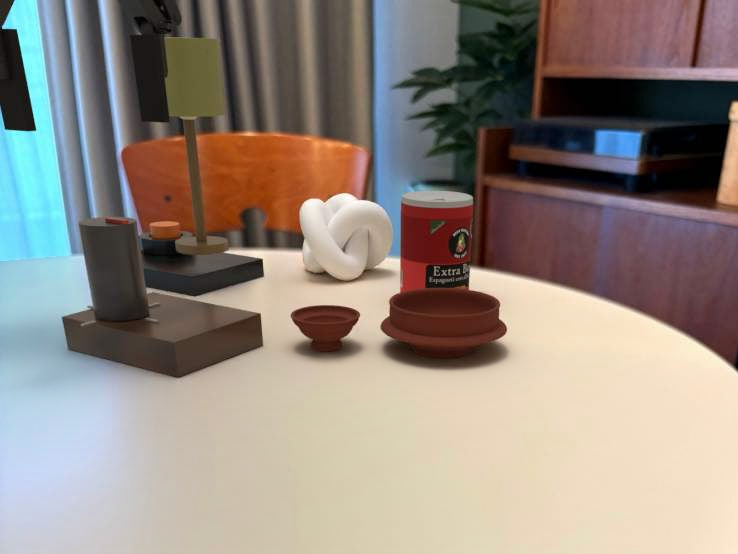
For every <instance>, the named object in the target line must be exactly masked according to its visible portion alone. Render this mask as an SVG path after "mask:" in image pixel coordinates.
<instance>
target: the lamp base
mask: <svg viewBox="0 0 738 554" xmlns="http://www.w3.org/2000/svg"><path fill="white" fill-rule="evenodd" d="M180 231H181V237H176V238H152V237H151V231H148V232H143V233H141V234H138V235H139V242H140V249H141V256H142V263H143V270H144V277H145V284H146V288H149V289H153V290H160V291H164V292H170V293H174V294H178V295H179V294H180V295H184V296H188V297H189V296H190V297H198V296H202V295H205V294H209V293H212V292H215V291H220V290H222V289H223V290H224V289H226V288H229V287H233V286H236V285H241V284H244V283H247V282H251V281H253V280H257V279H262V278H264V277H265V269H264V259H263V258H261V257H254V256H248V255H243V254H235V253H228V252H222V253H218V254H210V255H189V254H182V253H179V252H177V251H176V246H175V241H176V240H178V239H181V238H185V237H193V236H194V235H195V234H193V233H192V232H190V231H184V230H180Z"/></svg>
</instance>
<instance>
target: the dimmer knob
mask: <svg viewBox="0 0 738 554" xmlns="http://www.w3.org/2000/svg"><path fill="white" fill-rule="evenodd" d="M77 224H78V230H79V236H80V243H81V246H82V247H81V248H82V251H83V252H82V253H83V259H84V264H85V265H84V266H85V270H86V276H87V281H88V286H89V293H90V299H91V304H92V306H93V310H94V315H95V317H96V318H97V319H100V320H104V321H129V320H135V319H139V318H143V317H145V316H147V315H148V314H149V313H150V312H149V305H148V298H147V294H148V292H147V287H146V284H145V277H144V270H143V263H142V256H141V249H140V242H139V235H140V234H139V228H138V221H137V219H135V218H133V217H125V216H99V217H91V218H85V219H81V220H79V221H78V223H77Z"/></svg>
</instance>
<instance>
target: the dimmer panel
mask: <svg viewBox="0 0 738 554" xmlns="http://www.w3.org/2000/svg"><path fill="white" fill-rule="evenodd" d="M147 298H148V305H149V312H150V313H149V314H148V315H147V316H145V317H143V318H139V319H135V320H129V321H104V320H100V319H97V318H96V317H95V315H94V310H93V305H90V304H89V305H87V307H86V309H85V310H81V311H78V312H74V313H70V314H67V315H63V316H61V321H62V325H63V330H64V336H65V342H66V346H67V349H68V350H71V351H75V352H78V353H82V354H85V355H90V356H93V357H97V358H102V359H105V360H108V361H109V360H110V361H113V362H116V363H120V364H125V365H127V366H128V365H129V366H133V367H137V368H141V369H145V370H148V371H152V372H155V373H160V374H165V375H167V376H171V377H176V378H180V377H183V376H186V375H188V374H191V373H193V372H197V371H198V370H201V369H203V368H206V367H210V366H212V365H215V364H217V363H219V362H222V361H224V360H228V359H231V358H233V357H236V356H239V355H241V354H244V353H246V352H249V351H251V350H253V349H257V348H259V347H262V346H264V337H263V323H262V313H261V312H256V311H250V310H246V309H241V308H236V307H229V306H225V305H220V304H215V303H210V302H205V301H200V300H195V299H188V298H186V297H185V298H184V297H181V296H180V297H179V296H174V295H170V294H164V293H160V292H154V291H153V292H149V293H148V292H147Z"/></svg>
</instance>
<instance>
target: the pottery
mask: <svg viewBox="0 0 738 554" xmlns="http://www.w3.org/2000/svg"><path fill="white" fill-rule="evenodd" d="M388 304H389V312H388V313H389V316H387V317H386V318H384V319H383V320H382V321H381V323H380V330H381V331H382V333H383V334H385V336H388V337H390V338H391V339H394V340H396V341H400V342H404V343H407V344H409V345H410V348H411V349H412V350H413V352H415V353H416V354H419V355H421V356H424V357H430V358H438V359H439V358H441V359H451V358H460V357H464V356H468V355H470V354H472V353H473V352H474V351H475V349H476V347H477V346H479V345H484V344H489V343H492V342H494V341H498V340H499V339H501V338H503V337H504V336H505V335H506V334H507V333H508V327H507V325H506V323H505V322H504V321H503V320H502V319H500V308H501V302H500V300H499V299H498V298H496V297H495V296H493V295H490V294H488V293H485V292H481V291H477V290H472V289H469V290H466V289H456V288H424V289H415V290H409V291H405V292H401V293H400V292H398V293H396V294H394V295H392V296H391V297H390V298H389V301H388ZM360 317H361V313H360V312H359V310H357V309H355V308H353V307H348V306H345V305H335V304H332V305H331V304H318V305H310V306H309V305H308V306H303V307H300V308H297V309H295V310H292V312H291V313H290V318H291V320H292V322H293V324H294V325H295V326H296V327H297V328H298V329H299V331H300V332H301V334H302V335H303V336H305V338H308V339H310V340H311V342H310V348H311V349H312V350H314V351H317V352H336V351H338V350H341V349H342V348H343V341H342V339H344V338H346V337H347V336H348V335H350V333H351V332H352V330H353V328H354V326H355V325H357V323H358V321H359V320H360Z"/></svg>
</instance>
